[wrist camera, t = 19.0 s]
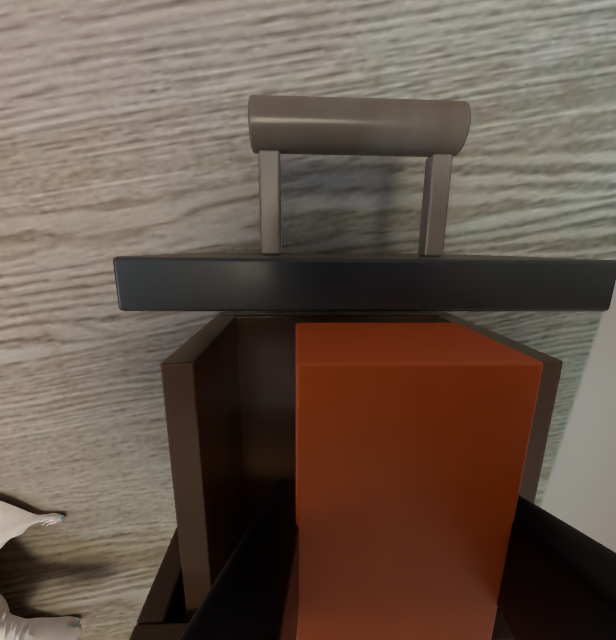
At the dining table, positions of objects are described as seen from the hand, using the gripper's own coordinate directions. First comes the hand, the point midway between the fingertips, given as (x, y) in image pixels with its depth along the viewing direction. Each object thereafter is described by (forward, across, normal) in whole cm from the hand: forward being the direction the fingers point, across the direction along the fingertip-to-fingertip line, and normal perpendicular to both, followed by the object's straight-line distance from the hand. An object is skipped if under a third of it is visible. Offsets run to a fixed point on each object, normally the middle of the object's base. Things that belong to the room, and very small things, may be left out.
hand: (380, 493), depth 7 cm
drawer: (+8, 0, 0) cm, 8 cm away
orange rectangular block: (+1, 0, 0) cm, 1 cm away
